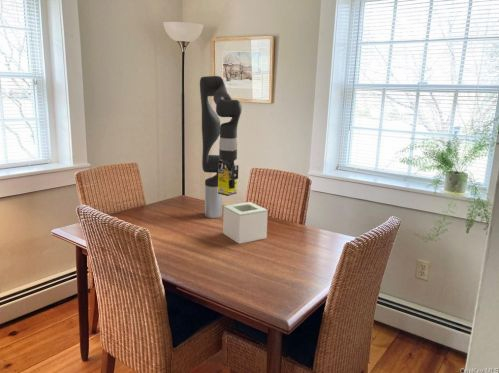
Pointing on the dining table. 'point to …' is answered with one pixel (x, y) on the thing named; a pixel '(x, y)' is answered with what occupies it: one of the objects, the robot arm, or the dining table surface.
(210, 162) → the robot arm
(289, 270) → the dining table surface
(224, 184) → the supplement box
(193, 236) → the dining table surface
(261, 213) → the storage box
